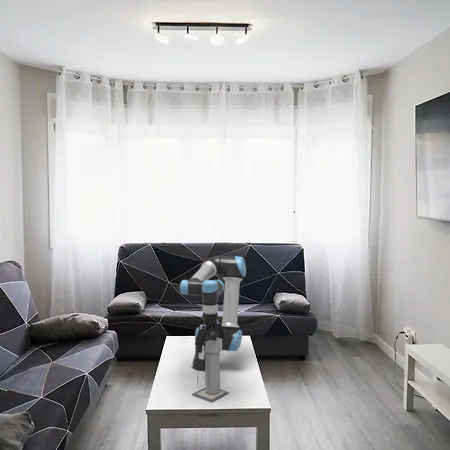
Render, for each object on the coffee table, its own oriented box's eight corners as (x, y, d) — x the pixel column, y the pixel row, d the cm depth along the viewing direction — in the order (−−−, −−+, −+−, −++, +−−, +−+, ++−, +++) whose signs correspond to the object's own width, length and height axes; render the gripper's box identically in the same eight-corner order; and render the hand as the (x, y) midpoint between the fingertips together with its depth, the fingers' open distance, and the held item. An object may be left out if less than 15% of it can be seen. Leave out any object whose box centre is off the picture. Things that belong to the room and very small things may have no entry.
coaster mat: (209, 386, 233) (209, 385, 233) (228, 393, 225) (228, 392, 225) (191, 395, 223) (191, 393, 223) (212, 402, 214) (212, 401, 214)
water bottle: (211, 387, 230) (211, 339, 229) (223, 391, 225) (223, 342, 224) (199, 393, 223) (198, 343, 222) (211, 397, 218) (211, 346, 217)
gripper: (220, 306, 233) (220, 346, 235) (187, 316, 214) (187, 360, 216) (231, 308, 229) (232, 349, 230) (198, 319, 209) (199, 364, 211)
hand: (210, 354), depth 223 cm, fingers open, 13 cm apart
